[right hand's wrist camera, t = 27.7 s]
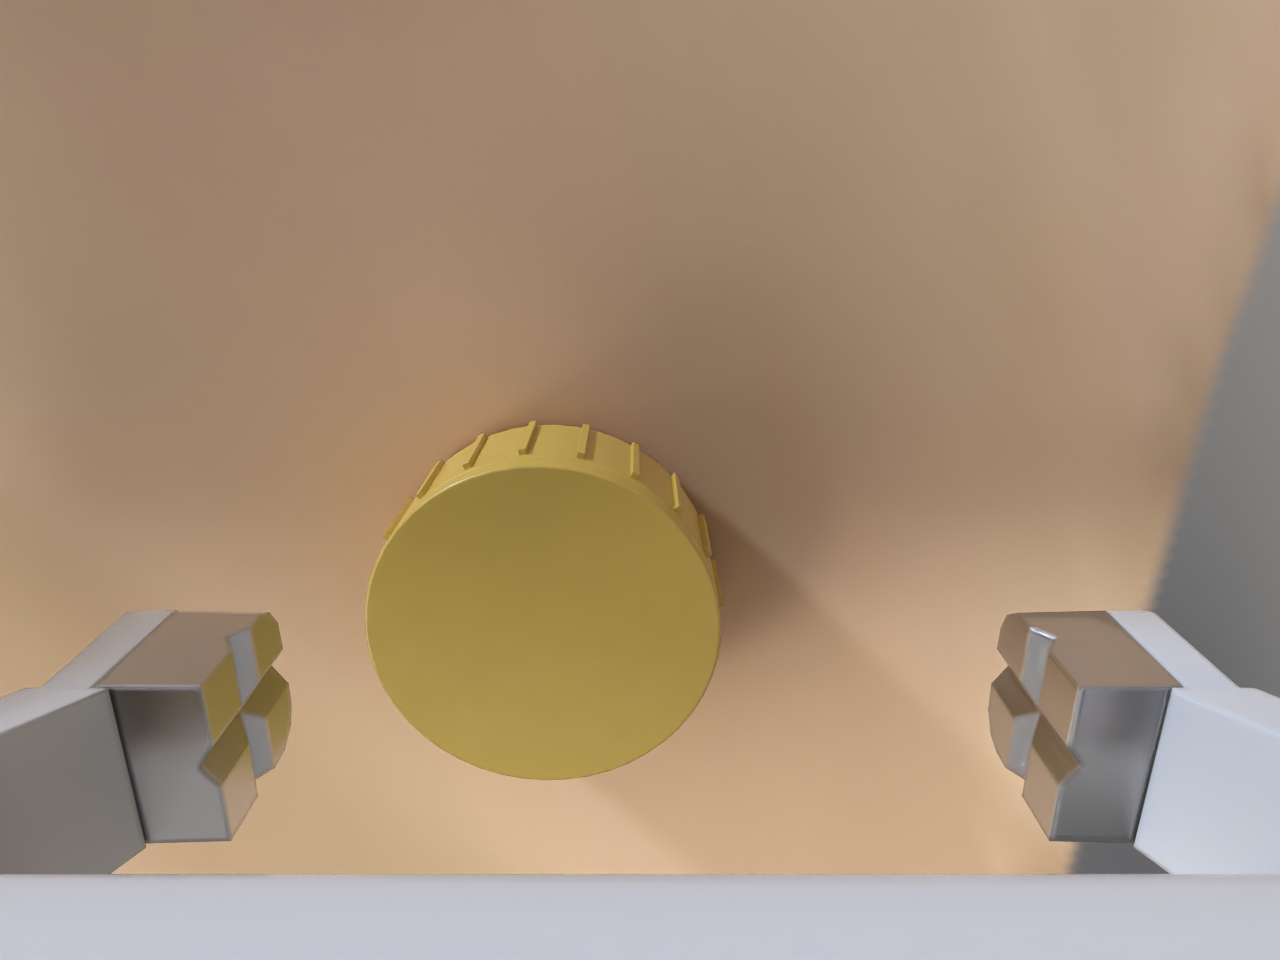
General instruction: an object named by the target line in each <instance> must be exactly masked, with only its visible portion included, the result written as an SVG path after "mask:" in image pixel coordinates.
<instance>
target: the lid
mask: <svg viewBox="0 0 1280 960" xmlns="http://www.w3.org/2000/svg"><path fill="white" fill-rule="evenodd" d="M589 428H590V425H588V424H583V426H582V428H581V427H576V426H565V425H537V421H530V422H529V424H528V426H526V427H519V428H513V429H509V430H506V431H503V432H499V433H496V434H492V435H490V436H488V437H487V436H486V434H485V433H483V434H480V435H479V436H478V437H477V439H476V441H475V442H474V443H472V444H471V445H469V446H468V447H466V448H464V449H463V450H461V451H459V452H458V453H456V454H455V455H454V456H452V457H451V458H450V459H449V460H447V461H446V462H445V463H444V462H443V461H442V460H441V459H440V460H439V461H438V462H437V463H436V465H435V466H434V468H433V469H432V471H431V472H430V474H429V475H428V477H427V478H426V480H425V481H424V483H423V484H422V486H421V487H420V489H419V490H418V492H417V493H416V498H415V499H413V498H412V497H409V499H408V500H407V502H406V503H405V505H404V506H403V508H402V509H401V511H400V512H399V514H398V515H397V517H396V518H395V520H394V521H393V522H392V524H391V525H390V527H389V528H388V530H387V531H386V533H385V535H384V538H385V539H387V540H388V541H387V542H386V544H385V545H384V547H383V549H382V551H381V553H380V555H379V557H378V559H377V561H376V563H375V565H374V569H373V572H372V575H371V578H370V580H369V585H368V590H367V597H366V604H365V629H366V636H367V643H368V648H369V652H370V655H371V658H372V662H373V665H374V668H375V671H376V673H377V675H378V677H379V679H380V681H381V684H382V686H383V688H384V689H385V691H386V692H387V694H388V696H389V697H390V699H391V700H392V702H393V704H394V705H395V706H396V707H397V709H398V710H399V711H400V712H401V713H402V715H403V716H404V717H405V718H406V720H407V721H408V722H409V723H410V724H411V725H412V726H414V727H415V728H416V729H417V730H418V731H419V732H420V733H421V734H422V735H423V736H424V737H426V738H427V739H428V740H430V741H431V742H433V743H434V744H435V745H437V746H438V747H439V748H441V749H442V750H444V751H446V752H448V753H449V754H451V755H453V756H455V757H456V758H458V759H460V760H462V761H465V762H467V763H469V764H472V765H474V766H476V767H479V768H482V769H485V770H488V771H491V772H495V773H498V774H502V775H507V776H512V777H517V778H524V779H536V780H564V779H572V778H580V777H587V776H591V775H595V774H599V773H602V772H606V771H609V770H612V769H615V768H617V767H620V766H623V765H625V764H628V763H630V762H631V761H633V760H635V759H637V758H639V757H641V756H643V755H645V754H647V753H648V752H650V751H651V750H652V749H654V748H655V747H657V746H658V745H660V744H661V743H663V742H664V741H665V740H666V739H667V738H668V737H669V736H671V735H672V734H673V733H674V732H675V731H676V730H677V729H678V728H679V727H680V726H681V725H682V724H683V723H684V721H685V720H686V719H687V718H688V717H689V716H690V715H691V713H692V712H693V710H694V709H695V707H696V706H697V704H698V703H699V701H700V700H701V698H702V697H703V695H704V693H705V691H706V689H707V687H708V684H709V682H710V680H711V678H712V675H713V672H714V669H715V665H716V662H717V659H718V653H719V646H720V640H721V615H720V608H719V605H724V599H723V594H722V589H721V584H720V579H719V574H718V569H717V564H716V559H711V558H710V556H712V550H711V545H710V540H709V535H708V530H707V525H706V520H705V517H704V514H703V513H702V514H699V515H698V514H697V512H696V510H695V507H694V505H693V504H692V502H691V501H690V499H689V498H688V496H687V495H686V493H685V491H684V490H683V489H682V487H681V486H680V480H679V477H678V475H677V474H676V473H673V474H672V475H670V474H669V473H668V472H667V471H666V470H665V469H664V468H663V467H662V466H661V465H659V464H658V463H657V462H656V461H655V460H654V459H652V458H651V457H649V456H648V455H646V454H645V453H643V452H642V451H640V450H639V444H637V443H636V442H633V443H632V444H631V445H630V444H628V443H626V442H624V441H622V440H620V439H618V438H615V437H612V436H610V435H607V434H604V433H601V432H599V431H594V430H590V429H589Z"/></svg>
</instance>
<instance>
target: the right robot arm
mask: <svg viewBox="0 0 1280 960" xmlns="http://www.w3.org/2000/svg"><path fill="white" fill-rule="evenodd" d="M282 649H283V647H282V642H281V637H280V632H279V627H278V622H277V621H276V620H275V619H274V618H273V616H272V615H271V614H270V613H260V612H205V611H181V612H179V611H177V610H159V611H135V612H126V613H125V614H124V615H122V616H121V617H120V618H119V619H118V620H117V621H116V622H115V623H113V624H112V625H111V626H110V627H109V628H108V629H107V630H106V631H104V632H103V633H102V634H101V635H100V636H99V637H98V638H96V639H95V640H94V641H93V642H92V643H91V644H90V645H89V646H87V647H86V648H85V649H84V650H83V651H82V652H81V653H80V654H78V655H77V656H76V657H75V658H74V659H73V660H72V661H71V662H69V663H68V664H67V665H66V666H65V667H64V668H63V669H61V670H60V671H59V672H58V673H57V674H56V675H55V676H54V677H52V678H51V679H50V680H49V681H48V682H47V683H46V684H45V685H43V686H42V687H41V688H24V689H22V690H19V691H17V692H14V693H12V694H9V695H6V696H4V697H1V698H0V960H1280V698H1278V697H1276V696H1273V695H1271V694H1268V693H1266V692H1263V691H1261V690H1258V689H1256V688H1239V687H1238V686H1237V685H1236V684H1234V683H1233V682H1232V681H1231V680H1230V679H1229V678H1228V677H1227V676H1225V675H1224V674H1223V673H1222V672H1221V671H1220V670H1219V669H1218V668H1216V667H1215V666H1214V665H1213V664H1212V663H1211V662H1210V661H1208V660H1207V659H1206V658H1205V657H1204V656H1203V655H1202V654H1201V653H1200V652H1198V651H1197V650H1196V649H1195V648H1194V647H1193V646H1192V645H1190V644H1189V643H1188V642H1187V641H1186V640H1185V639H1184V638H1183V637H1181V636H1180V635H1179V634H1178V633H1177V632H1176V631H1175V630H1174V629H1172V628H1171V627H1170V626H1169V625H1168V624H1167V623H1166V622H1165V621H1163V620H1162V619H1161V618H1160V617H1159V616H1158V615H1157V614H1156V613H1152V612H1149V611H1145V610H1128V611H1075V612H1033V613H1015V614H1009V615H1007V616H1006V618H1005V620H1004V622H1003V625H1002V627H1001V630H1000V635H999V641H998V647H997V649H998V651H999V652H1000V654H1001V655H1002V657H1003V658H1004V660H1005V662H1006V663H1007V665H1008V667H1007V668H1006V669H1005V670H1004V671H1003V672H1002V673H1001V674H1000V675H999V676H998V677H997V678H996V679H995V680H994V681H993V683H992V684H991V693H990V701H989V709H988V711H989V721H990V731H991V736H992V739H993V742H994V746H995V749H996V752H997V754H998V755H999V757H1000V759H1001V761H1002V762H1003V764H1004V766H1005V768H1007V769H1008V770H1010V771H1012V772H1013V773H1015V774H1017V775H1018V776H1020V777H1021V778H1023V779H1025V782H1024V788H1023V794H1022V796H1023V798H1024V800H1025V801H1026V803H1027V805H1028V806H1029V808H1030V810H1031V811H1032V813H1033V815H1034V816H1035V818H1036V820H1037V821H1038V823H1039V825H1040V826H1041V828H1042V830H1043V831H1044V833H1045V835H1046V836H1047V838H1048V840H1049V841H1071V842H1108V843H1134V848H1136V849H1137V850H1139V851H1140V852H1141V853H1143V854H1144V855H1145V856H1147V857H1148V858H1149V859H1151V860H1152V861H1153V862H1155V863H1156V864H1157V865H1159V866H1160V867H1162V868H1163V869H1164V870H1166V871H1167V872H1168V873H1170V874H111V873H112V872H113V871H115V870H116V869H117V868H119V867H120V866H121V865H123V864H124V863H126V862H127V861H128V860H130V859H131V858H132V857H134V856H135V855H136V854H138V853H139V852H140V851H142V850H143V849H145V848H146V843H171V842H207V841H231V840H232V838H233V836H234V835H235V833H236V831H237V830H238V828H239V826H240V825H241V823H242V821H243V820H244V818H245V816H246V815H247V813H248V811H249V810H250V808H251V806H252V805H253V803H254V801H255V800H256V798H257V796H258V794H257V788H256V782H255V779H257V778H259V777H260V776H262V775H263V774H265V773H267V772H268V771H270V770H272V769H273V768H275V766H276V764H277V762H278V761H279V759H280V757H281V755H282V753H283V752H284V750H285V746H286V742H287V738H288V734H289V730H290V726H291V698H290V691H289V684H288V683H287V681H286V680H285V679H284V678H283V677H282V676H281V675H280V674H279V673H278V672H277V671H276V670H275V669H274V668H273V667H272V665H273V663H274V662H275V660H276V658H277V657H278V655H279V654H280V652H281V651H282Z"/></svg>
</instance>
